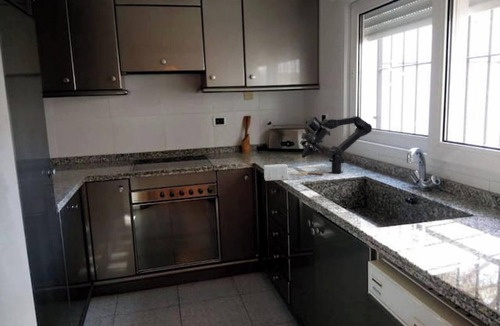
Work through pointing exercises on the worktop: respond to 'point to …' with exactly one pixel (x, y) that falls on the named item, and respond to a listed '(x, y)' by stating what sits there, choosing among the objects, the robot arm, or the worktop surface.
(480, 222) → the worktop surface
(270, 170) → the small box
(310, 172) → the wooden turner
